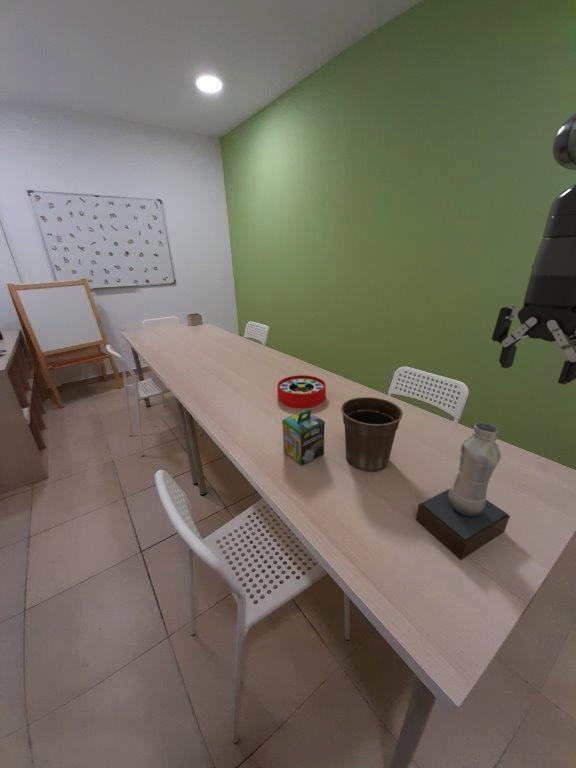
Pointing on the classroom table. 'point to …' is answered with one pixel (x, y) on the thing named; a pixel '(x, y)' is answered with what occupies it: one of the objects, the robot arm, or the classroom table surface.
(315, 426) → the chalk box
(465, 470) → the plastic bottle
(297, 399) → the toy clock
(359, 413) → the plant pot
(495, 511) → the step block
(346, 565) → the classroom table surface
